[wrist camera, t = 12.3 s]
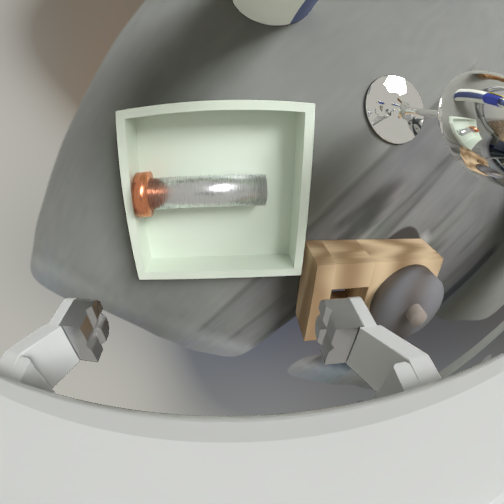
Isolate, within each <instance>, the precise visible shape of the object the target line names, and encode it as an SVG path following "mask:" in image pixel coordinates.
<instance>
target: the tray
mask: <svg viewBox="0 0 504 504" xmlns="http://www.w3.org/2000/svg"><path fill="white" fill-rule="evenodd" d="M314 121H315V104H313V103H303V102H289V101H270V100H213V101H194V102H181V103H170V104H161V105H152V106H145V107H138V108H131V109H125V110H120V111H116V131H117V144H118V156H119V166H120V175H121V183H122V190H123V198H124V204H125V211H126V217H127V223H128V228H129V234H130V239H131V244H132V249H133V254H134V259H135V263H136V268H137V272H138V277H139V280H148V279H207V278H241V277H269V276H293V275H301V272H302V264H303V256H304V247H305V238H306V228H307V218H308V208H309V196H310V184H311V171H312V157H313V141H314ZM148 171H151V172H152V174H153V178H159V177H174V176H195V175H229V174H265V175H266V179H267V202H266V205H265V206H228V207H198V208H176V209H157V210H154V214H153V216H152V217H137V216H136V215H135V212H134V209H133V203H132V183H133V178H134V175H135V173H137V172H148Z"/></svg>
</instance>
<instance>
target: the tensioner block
mask: <svg viewBox="0 0 504 504" xmlns="http://www.w3.org/2000/svg"><path fill="white" fill-rule="evenodd" d="M443 259H444V258H442V257H441V256H440V255H439V254H438V253H437V252H436V251H435V250H434V249H432V248H431V247H430V246H429V245H428V244H427V243H426V242H424V241H423V240H422V239H368V240H310V241H305V247H304V256H303V264H302V272H301V275H300V283H299V291H298V298H297V305H296V316H297V319H298V322H299V325H300V329H301V332H302V335H303V339H304V341H310V340H317V339H316V334H315V322H316V317H317V316H318V315H319V314H320V311H319V309H318V308H319V303H320V301H321V300H324V299H338V298H348V297H358V296H359V297H361V298H362V300H363V301H364V303H365V305H366V306H367V308H368V310H369V312H370V314H371V315H372V317H373V319H374V321H375V323H376V324H377V325H381V326H383V327H385V328H386V329H388V330H389V331H391V332H393V333H394V334H396V335H397V336H399V337H401V338H402V339H404V338H407V337H409V336H411V335H413V334H415V333H417V332H418V331H419V330H421V329H422V328H423V327H425V326H426V325H427V324H428V323H429V321H431V319H432V318H433V317H434V316H435V314H436V313H437V311H438V310H439V308H440V306H441V303H442V300H443V296H444V288H443V284H442V283H441V281H440V280H439V279H438V278H437V276H438V273H439V270H440V268H441V265H442V262H443ZM334 289H345V291H339V292H338V291H337V292H331V291H332V290H334Z"/></svg>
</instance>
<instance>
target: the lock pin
mask: <svg viewBox="0 0 504 504" xmlns="http://www.w3.org/2000/svg"><path fill="white" fill-rule="evenodd" d="M266 202H267V179H266V175H265V174H229V175H195V176H174V177H159V178H153V174H152V172H151V171H148V172H137V173H135V175H134V178H133V183H132V203H133V209H134V212H135V215H136V216H137V217H152V216H153V214H154V210H157V209H176V208H198V207H228V206H265V205H266Z"/></svg>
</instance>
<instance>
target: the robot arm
mask: <svg viewBox="0 0 504 504" xmlns="http://www.w3.org/2000/svg"><path fill="white" fill-rule="evenodd" d="M102 309H103V307H102V305H101V303H100V301H98V300H91V299H80V298H77V299H76V298H65V299H64V300H63V302H62V303H61V305H60V306H59V308H58V309H57V311H56V312H55V314H54V316H53V317H52V319H51V320H50V322H49V324H44V325H43V326H41V327H40V328H38V329H37V330H36V331H34V332H32V333H31V334H29V335H28V336H26V337H25V338H23V339H22V340H20V341H19V342H17V343H16V344H14V345H13V346H12V347H10V348H9V349H7V350H6V351H5V353H4V355H3V356H2V358H1V360H0V504H504V353H503V354H500V355H498V356H496V357H494V358H491V359H489V360H487V361H485V362H483V363H481V364H479V365H476V366H474V367H471V368H470V369H467V370H464V371H462V372H459V373H457V374H455V375H452V376H449V377H446V378H444V379H442V378H441V377H440V375H439V373H438V372H437V369H436V368H435V366H434V364H433V362H432V361H431V359H430V357H429V356H428V354H426V353H424V352H423V351H421V350H420V349H418V348H416V347H415V346H413V345H412V344H410V343H409V342H407V341H405V340H404V339H402V338H401V337H399V336H397V335H396V334H394V333H393V332H391V331H389V330H388V329H386V328H385V327H383V326H381V325H377V324H376V323H375V321H374V319H373V317H372V315H371V314H370V312H369V310H368V308H367V306H366V305H365V303H364V301H363V300H362V298H361V297H359V296H358V297H348V298H338V299H324V300H321V301H320V303H319V308H318V309H319V311H320V314H319V315H318V316H317V317H316V322H315V334H316V339H317V342H318V343H320V344H321V345H322V347H321V350H320V352H321V355H322V358H323V361H324V365H326V364H336V363H345V362H346V364H347V365H348V366H349V367H350V368H352V369H353V370H354V371H355V372H356V373H357V374H358V375H359V376H360V377H361V378H362V379H363V380H364V381H366V382H367V383H368V384H369V385H370V386H371V387H372V388H373V389H374V390H375V391H377V394H376V396H375V397H374V398H373V399H372V400H367V401H362V402H358V403H353V404H348V405H342V406H336V407H330V408H324V409H317V410H309V411H302V412H292V413H281V414H268V415H249V416H199V415H180V414H166V413H156V412H147V411H139V410H132V409H125V408H119V407H112V406H107V405H102V404H97V403H92V402H87V401H83V400H78V399H74V398H70V397H66V396H63V395H59V394H56V393H55V392H54V391H53V390H52V388H53V387H54V386H55V385H56V384H57V383H58V382H59V381H60V380H61V379H62V378H63V377H64V376H65V375H66V374H67V373H68V372H69V371H70V370H71V369H72V368H73V367H74V366H75V365H77V364H78V363H79V362H80V360H85V361H93V362H98V361H99V358H100V355H101V353H102V350H103V348H102V345H101V344H103V343H104V342H105V341H106V340H107V337H108V334H109V325H108V321H107V318H106V317H105V316H104V315H103V314H102V313H101V312H102Z"/></svg>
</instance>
